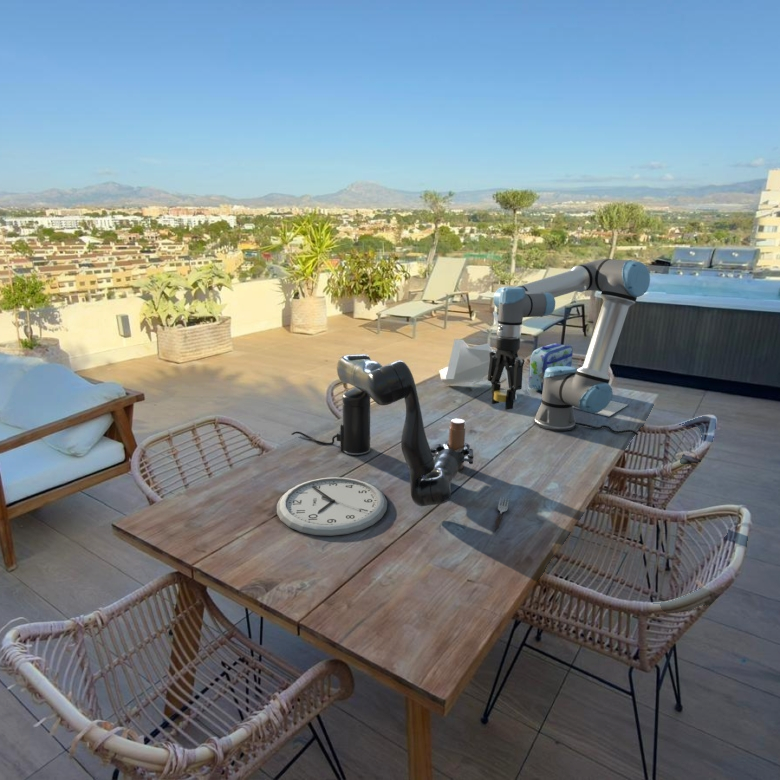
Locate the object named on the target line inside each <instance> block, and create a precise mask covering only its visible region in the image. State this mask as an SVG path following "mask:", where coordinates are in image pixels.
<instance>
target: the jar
mask: <svg viewBox="0 0 780 780" xmlns="http://www.w3.org/2000/svg"><path fill="white" fill-rule="evenodd" d="M465 439H466V421H465V419H462V418H452V419H451V420H450V425H449V432H448V441H449V449H452V450H457V449H459V448H463V447H464V445H465V443H466V442H465V441H466V440H465ZM463 468H464V462H463V463H461V466H460V468H459V470H463Z"/></svg>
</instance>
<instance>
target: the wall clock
mask: <svg viewBox="0 0 780 780" xmlns="http://www.w3.org/2000/svg"><path fill="white" fill-rule="evenodd" d="M387 509H388V500H387V498H386V496H385V494H384V493H383V492H382V491H381V490H380V489H379V488H377V487H376V486H374V485H372V484H371V483H369V482H365V481H362V480H359V479H355V478H349V477H338V476H337V477H335V476H333V477H332V476H331V477H322V478H317V479H312V480H307V481H305V482H302V483H299V484H297V485H295V486H293V487H292V488H290V489H288V490H287V491H286V492H285V493H284V494H283V495H281V496H280V498H279V499H278V502H277V503H276V515H277V517H278V518H279V520H280V521H281V522H282V523H283V524H285V525H286V526H287V527H288V528H290V529H293V530H295V531H297V532H299V533H303V534H308V535H312V536H327V537H328V536H329V537H331V536H332V537H333V536H342V535H350V534H352V533H356V532H361V531H363V530H366V529H368V528H369V527H372V526H373V525H375V524H376V523H378V522H379V521H380V520H381V519H382V518H383V517H384V516H385V514H386V512H387Z"/></svg>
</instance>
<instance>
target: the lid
mask: <svg viewBox="0 0 780 780" xmlns="http://www.w3.org/2000/svg"><path fill="white" fill-rule="evenodd" d="M506 395H507V389H506V390H505V389H500V390H496V391H494V400H495V401H498V402H499V403H506Z"/></svg>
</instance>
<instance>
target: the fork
mask: <svg viewBox="0 0 780 780" xmlns="http://www.w3.org/2000/svg"><path fill="white" fill-rule="evenodd" d="M501 500H502V501H501ZM509 500H510V497H508V499H507V498H505V500H504V496H503V497H500V498H499V502H498V505H497V511H499V514H498V515H497V517H496V521H495V527H494V532H497V530H498V527H499V526H500V524H501V522H502V515H503V513H504V512H507V511H508V509H509Z"/></svg>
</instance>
